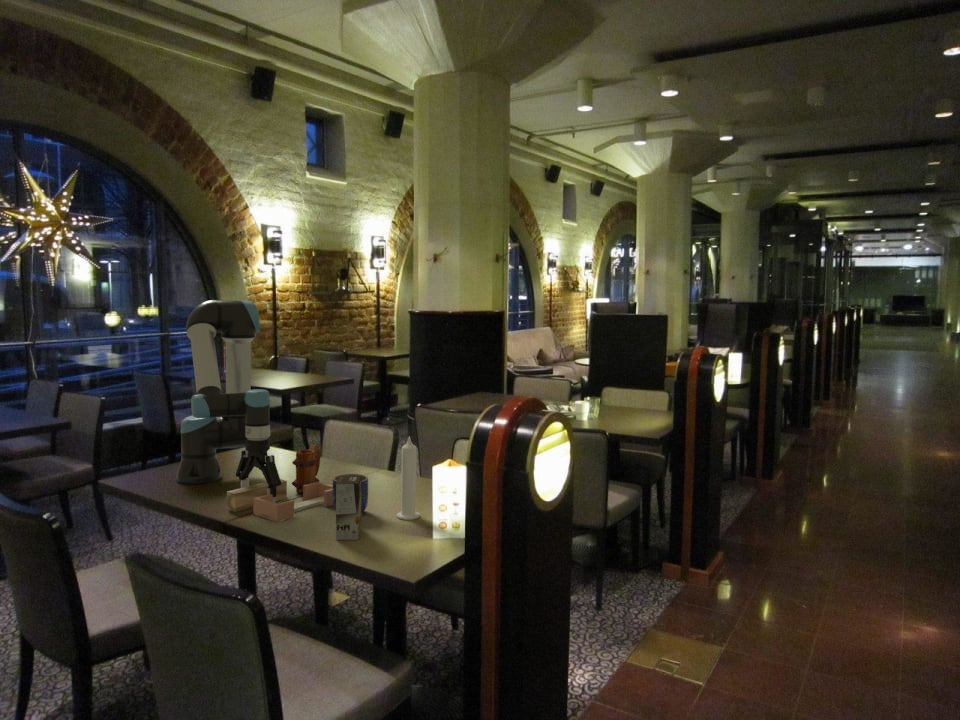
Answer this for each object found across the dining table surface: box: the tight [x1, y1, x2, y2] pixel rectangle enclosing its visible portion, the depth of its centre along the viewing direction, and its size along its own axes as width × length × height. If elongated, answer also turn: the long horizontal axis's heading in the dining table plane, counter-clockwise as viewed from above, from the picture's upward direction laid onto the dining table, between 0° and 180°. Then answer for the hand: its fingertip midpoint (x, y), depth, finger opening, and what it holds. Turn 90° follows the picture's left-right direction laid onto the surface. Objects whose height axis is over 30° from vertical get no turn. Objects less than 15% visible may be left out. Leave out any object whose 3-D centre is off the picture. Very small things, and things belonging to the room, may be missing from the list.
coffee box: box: [335, 475, 362, 541], centre depth 196 cm, size 9×6×16 cm
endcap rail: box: [252, 481, 334, 523], centre depth 220 cm, size 11×25×5 cm, turn 144°
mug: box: [291, 444, 321, 494], centre depth 241 cm, size 15×8×15 cm, turn 168°
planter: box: [332, 473, 369, 515], centre depth 216 cm, size 11×11×11 cm
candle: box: [396, 436, 421, 521], centre depth 213 cm, size 7×7×25 cm
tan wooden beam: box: [226, 478, 288, 513], centre depth 224 cm, size 4×20×6 cm, turn 145°
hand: (258, 503), depth 224 cm, fingers open, 13 cm apart
